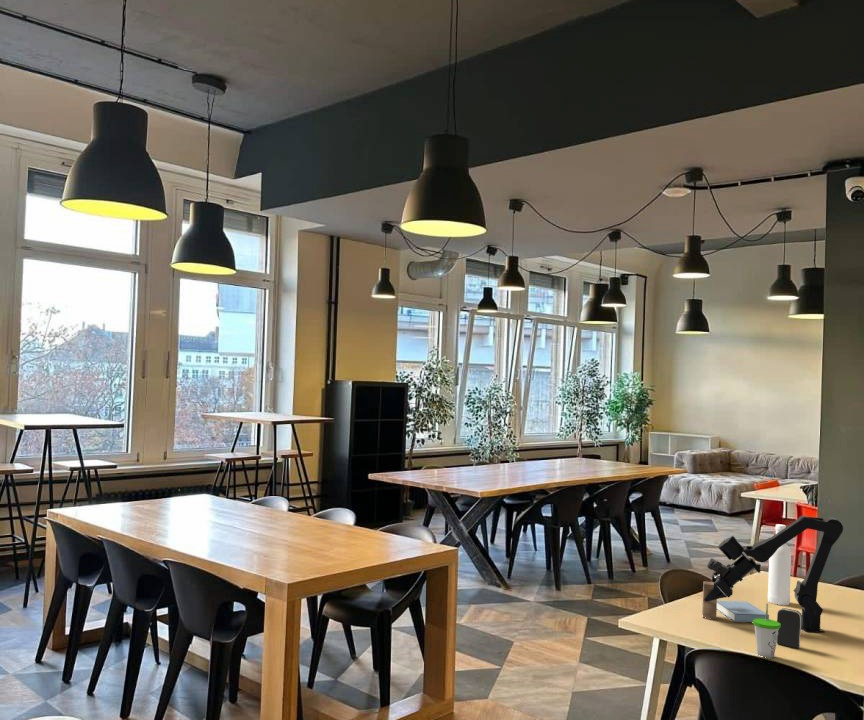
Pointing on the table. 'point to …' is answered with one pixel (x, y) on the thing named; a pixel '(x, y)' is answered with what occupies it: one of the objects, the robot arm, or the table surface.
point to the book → (740, 611)
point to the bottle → (779, 574)
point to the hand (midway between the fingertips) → (704, 597)
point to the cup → (766, 635)
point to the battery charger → (789, 627)
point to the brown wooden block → (709, 606)
